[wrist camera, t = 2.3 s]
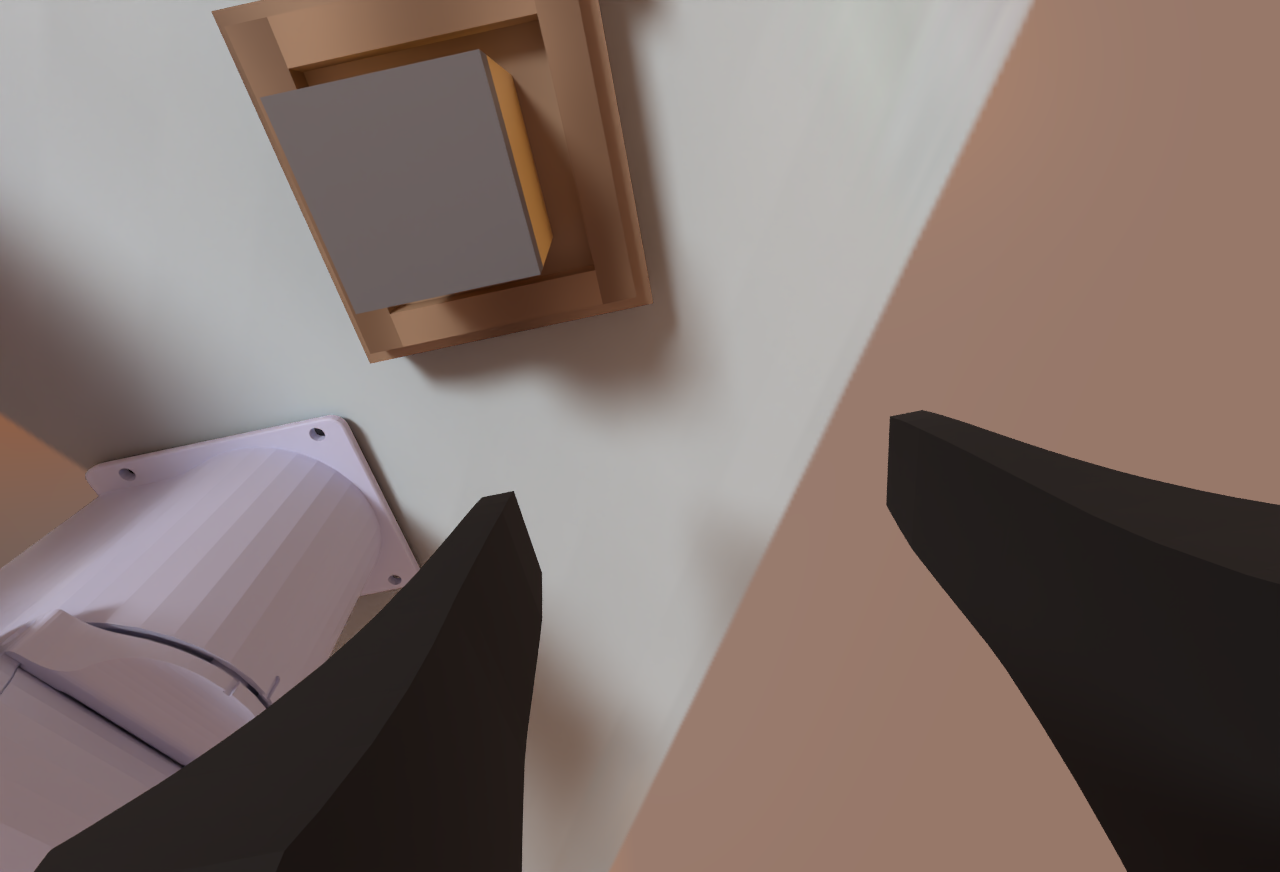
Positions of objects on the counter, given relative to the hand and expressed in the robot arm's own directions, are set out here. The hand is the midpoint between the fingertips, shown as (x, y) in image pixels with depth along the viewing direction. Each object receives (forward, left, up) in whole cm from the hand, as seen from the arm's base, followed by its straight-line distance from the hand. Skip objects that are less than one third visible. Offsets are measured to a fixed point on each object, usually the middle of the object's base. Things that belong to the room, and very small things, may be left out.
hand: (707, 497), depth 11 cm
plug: (-4, +6, -8) cm, 11 cm away
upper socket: (-4, +6, -10) cm, 13 cm away
